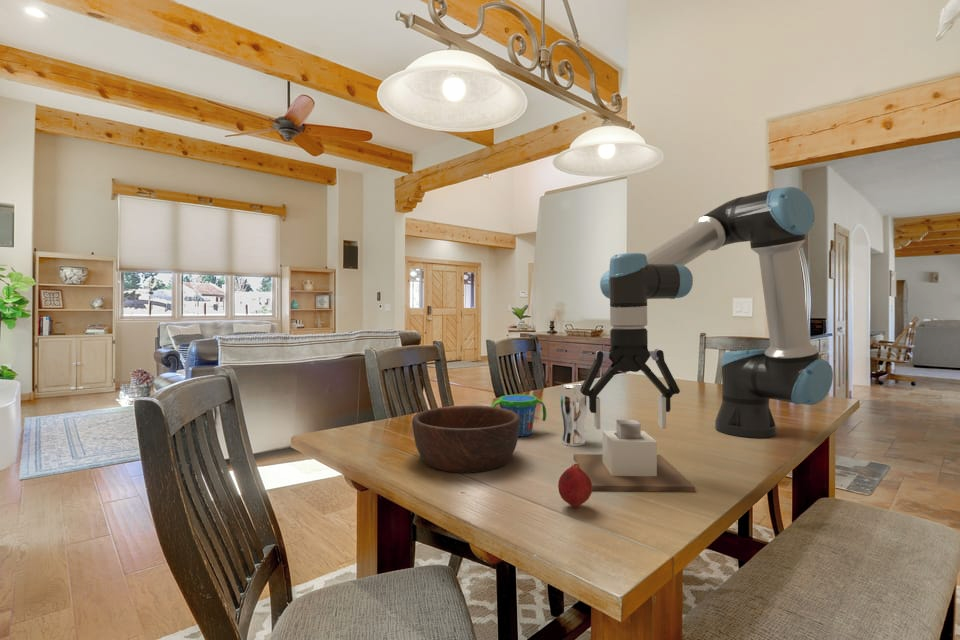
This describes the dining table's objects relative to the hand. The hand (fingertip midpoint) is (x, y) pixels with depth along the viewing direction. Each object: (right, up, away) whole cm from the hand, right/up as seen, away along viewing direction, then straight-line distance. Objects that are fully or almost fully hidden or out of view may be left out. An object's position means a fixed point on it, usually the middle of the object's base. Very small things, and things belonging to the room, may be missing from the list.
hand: (629, 427), depth 104 cm
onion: (-15, -11, -17) cm, 25 cm away
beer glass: (-7, -9, +23) cm, 26 cm away
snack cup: (-21, -9, +33) cm, 40 cm away
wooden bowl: (-35, -10, +10) cm, 38 cm away
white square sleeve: (0, -9, 0) cm, 9 cm away
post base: (0, -10, 0) cm, 10 cm away
